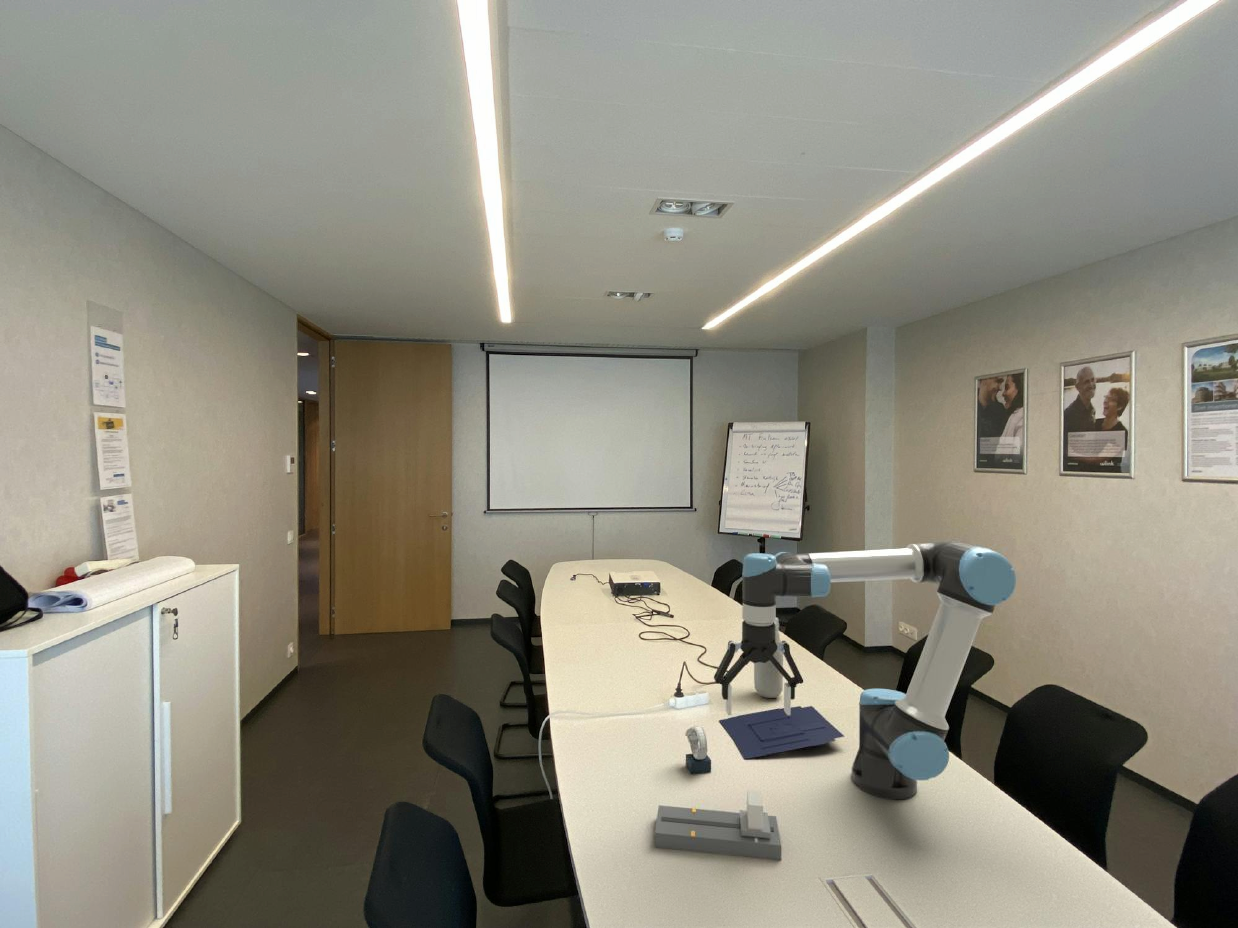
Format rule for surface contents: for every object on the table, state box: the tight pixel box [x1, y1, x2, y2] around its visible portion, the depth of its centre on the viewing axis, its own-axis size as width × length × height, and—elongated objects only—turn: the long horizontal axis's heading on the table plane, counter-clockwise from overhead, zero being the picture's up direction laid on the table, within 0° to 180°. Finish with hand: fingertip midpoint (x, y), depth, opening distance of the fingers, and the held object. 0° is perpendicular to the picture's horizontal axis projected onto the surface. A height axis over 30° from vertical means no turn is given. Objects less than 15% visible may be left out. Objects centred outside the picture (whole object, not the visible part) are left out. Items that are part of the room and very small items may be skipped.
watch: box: [684, 724, 712, 775], centre depth 157 cm, size 6×8×11 cm
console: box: [654, 804, 782, 861], centre depth 129 cm, size 26×10×3 cm, turn 81°
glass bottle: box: [753, 617, 784, 699], centre depth 205 cm, size 10×10×28 cm
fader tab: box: [739, 789, 771, 838], centre depth 128 cm, size 6×7×6 cm
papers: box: [718, 705, 845, 760], centre depth 176 cm, size 24×30×4 cm
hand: (757, 712), depth 138 cm, fingers open, 13 cm apart
